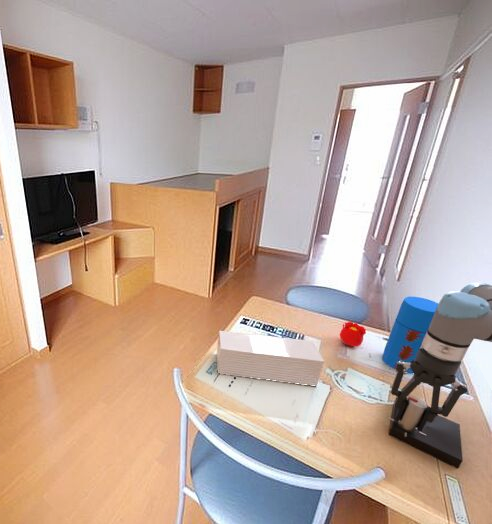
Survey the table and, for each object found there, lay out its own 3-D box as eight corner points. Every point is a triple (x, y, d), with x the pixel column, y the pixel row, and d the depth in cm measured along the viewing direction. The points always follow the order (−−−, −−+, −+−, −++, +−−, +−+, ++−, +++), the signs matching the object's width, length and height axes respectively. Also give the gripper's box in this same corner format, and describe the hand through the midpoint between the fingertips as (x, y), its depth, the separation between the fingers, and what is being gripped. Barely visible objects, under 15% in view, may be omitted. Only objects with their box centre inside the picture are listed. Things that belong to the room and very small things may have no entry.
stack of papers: (217, 373, 106) (220, 348, 102) (216, 354, 116) (219, 330, 111) (316, 387, 100) (324, 361, 96) (306, 365, 110) (313, 340, 106)
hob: (455, 431, 85) (460, 423, 84) (458, 472, 75) (463, 463, 74) (388, 402, 95) (391, 394, 93) (382, 435, 84) (386, 427, 83)
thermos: (386, 350, 118) (408, 293, 109) (421, 364, 111) (448, 305, 101) (377, 362, 112) (400, 302, 102) (414, 378, 104) (442, 316, 95)
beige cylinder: (416, 425, 84) (428, 400, 80) (415, 435, 81) (428, 409, 77) (397, 417, 86) (408, 392, 82) (396, 426, 83) (408, 401, 80)
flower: (362, 343, 122) (368, 326, 119) (358, 352, 117) (364, 335, 114) (340, 335, 127) (345, 319, 124) (335, 343, 122) (340, 327, 119)
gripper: (395, 345, 77) (368, 413, 86) (494, 378, 66) (451, 452, 75) (397, 332, 82) (372, 397, 91) (489, 361, 71) (450, 432, 80)
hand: (408, 422), depth 83 cm, fingers closed on beige cylinder, 4 cm apart
